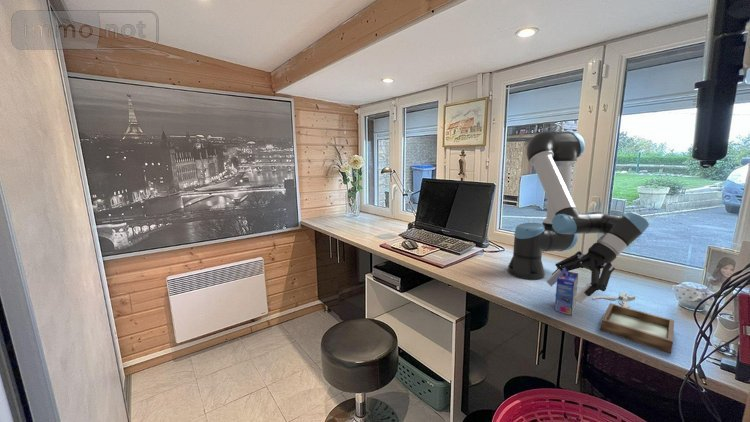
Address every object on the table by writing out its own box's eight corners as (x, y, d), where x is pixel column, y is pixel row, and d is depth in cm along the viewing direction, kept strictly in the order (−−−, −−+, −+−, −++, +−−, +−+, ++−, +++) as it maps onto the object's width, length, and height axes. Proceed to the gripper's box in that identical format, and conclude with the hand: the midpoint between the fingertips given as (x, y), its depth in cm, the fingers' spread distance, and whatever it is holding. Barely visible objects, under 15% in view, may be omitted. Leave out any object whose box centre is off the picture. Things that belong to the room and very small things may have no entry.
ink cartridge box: (558, 300, 110) (562, 263, 107) (575, 305, 106) (580, 267, 104) (553, 310, 102) (557, 271, 100) (572, 315, 99) (576, 275, 96)
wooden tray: (600, 330, 90) (601, 319, 90) (608, 312, 101) (610, 303, 100) (670, 353, 79) (673, 341, 79) (672, 330, 90) (674, 320, 89)
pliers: (591, 295, 111) (615, 289, 116) (591, 299, 111) (615, 292, 117) (621, 307, 102) (646, 299, 107) (621, 311, 102) (645, 303, 108)
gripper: (648, 268, 90) (597, 316, 91) (583, 246, 115) (544, 283, 116) (635, 253, 89) (584, 301, 90) (572, 233, 113) (533, 271, 114)
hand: (561, 291), depth 103 cm, fingers open, 13 cm apart
